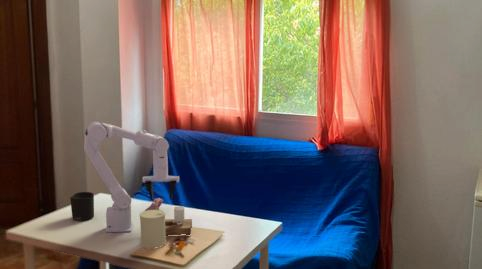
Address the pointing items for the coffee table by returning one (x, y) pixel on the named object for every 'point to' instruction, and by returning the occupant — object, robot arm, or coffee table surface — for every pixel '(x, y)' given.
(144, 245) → the can
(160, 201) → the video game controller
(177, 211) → the steel peg
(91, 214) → the pen holder
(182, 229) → the keyhole plate
